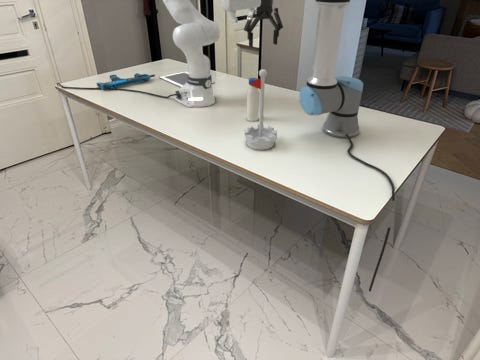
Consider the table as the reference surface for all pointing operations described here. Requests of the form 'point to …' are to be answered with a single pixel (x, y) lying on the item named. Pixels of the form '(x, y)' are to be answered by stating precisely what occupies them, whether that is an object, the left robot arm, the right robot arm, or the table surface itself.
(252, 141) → the flag stand
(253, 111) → the bottle
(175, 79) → the tablet
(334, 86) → the right robot arm
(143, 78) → the submachine gun
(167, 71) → the table surface
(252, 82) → the cap
